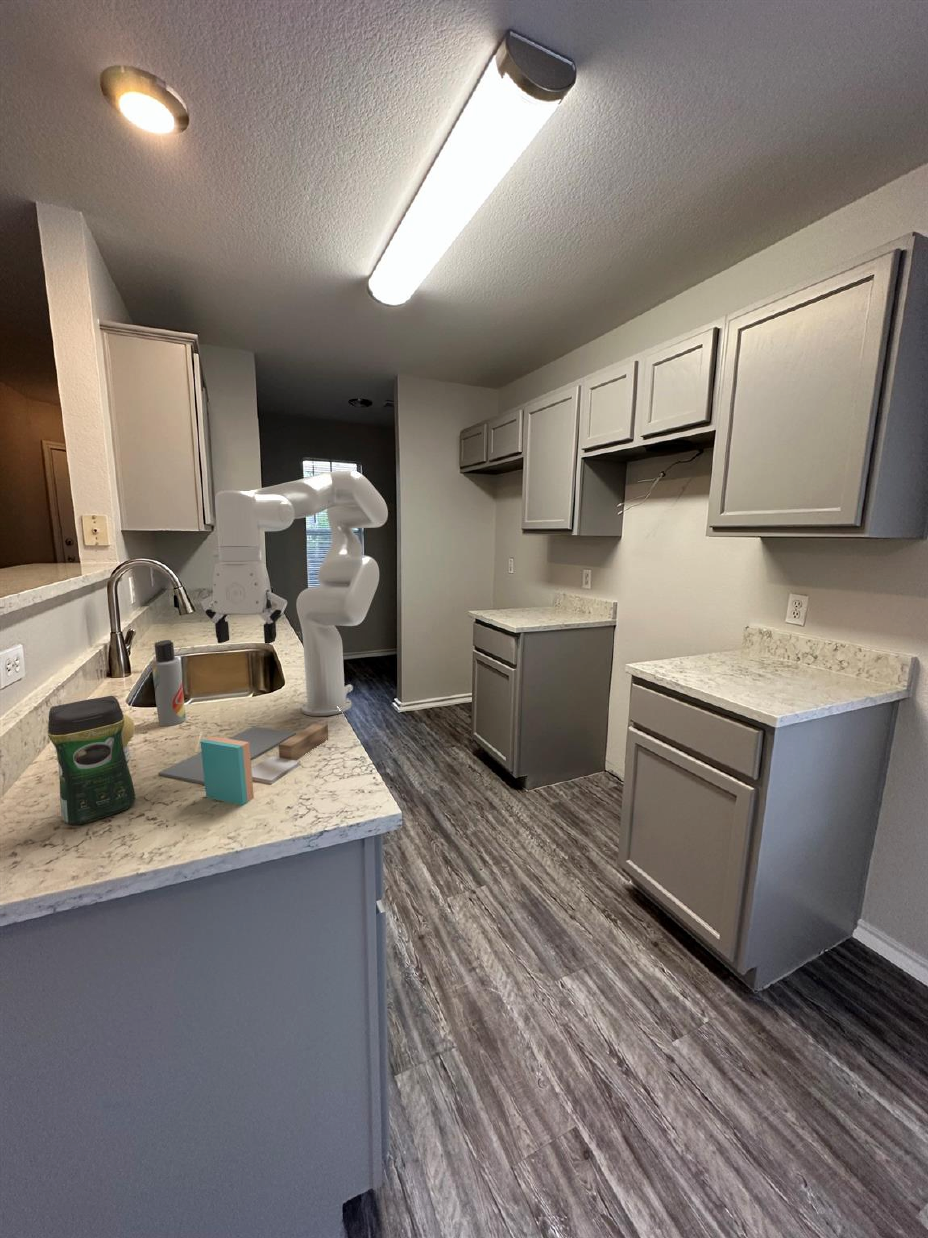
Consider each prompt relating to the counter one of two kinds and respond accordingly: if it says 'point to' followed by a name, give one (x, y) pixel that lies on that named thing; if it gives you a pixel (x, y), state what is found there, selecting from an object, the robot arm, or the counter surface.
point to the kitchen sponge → (227, 770)
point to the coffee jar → (91, 759)
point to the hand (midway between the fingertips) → (246, 642)
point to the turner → (290, 754)
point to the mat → (256, 737)
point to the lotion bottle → (168, 685)
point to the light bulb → (127, 734)
